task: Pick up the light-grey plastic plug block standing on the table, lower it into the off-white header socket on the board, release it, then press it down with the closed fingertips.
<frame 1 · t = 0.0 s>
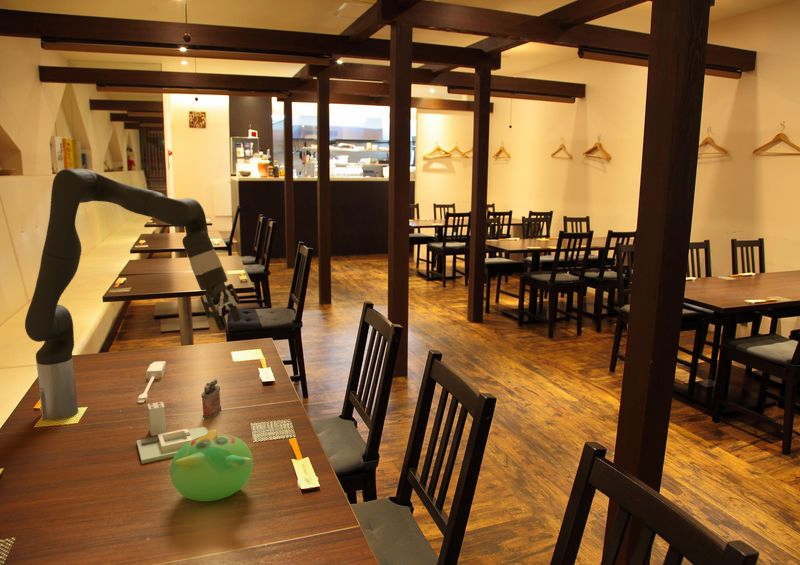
hand: (231, 325, 159), 31 cm above the table, tool tilted 20°, fingers open, 8 cm apart
toy bird: (214, 496, 134), on the table
charging cable: (151, 385, 199), on the table
board: (175, 445, 157), on the table
lighter: (212, 414, 177), on the table
plug: (158, 431, 165), on the table
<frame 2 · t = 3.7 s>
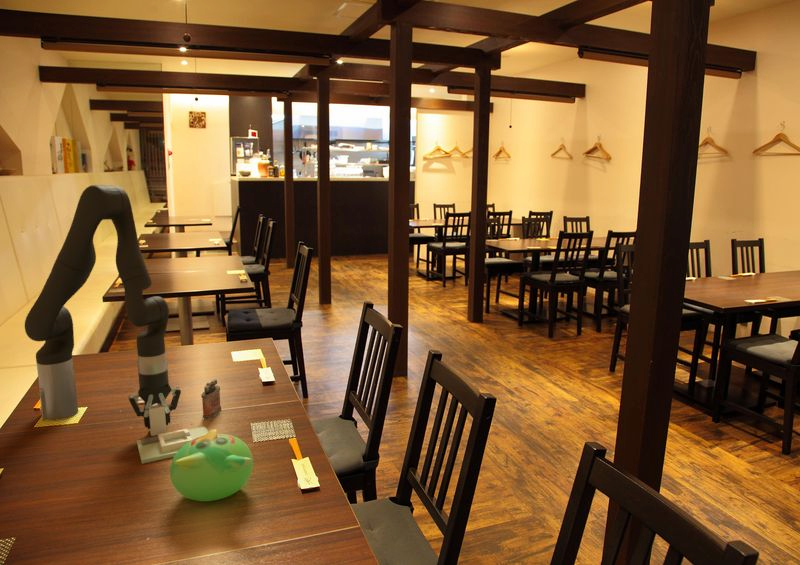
hand: (157, 425, 164), 2 cm above the table, tool pointing down, fingers closed on plug, 4 cm apart
plug: (158, 431, 165), on the table, touching gripper
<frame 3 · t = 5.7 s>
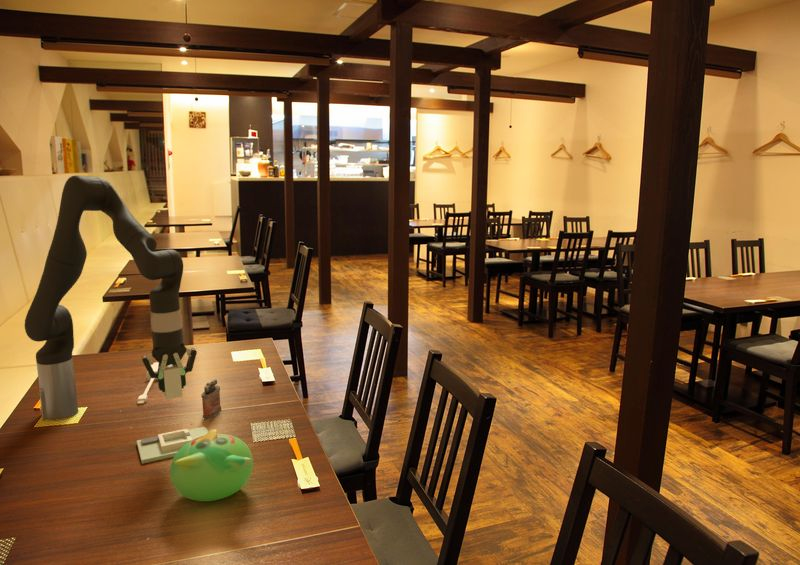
hand: (172, 389, 154), 16 cm above the table, tool pointing down, fingers closed on plug, 4 cm apart
plug: (173, 395, 155), point 14 cm above the table, touching gripper
when the fingers open (4 cm above the table, at t = 7.6 s): plug stays where it is, resting on board.
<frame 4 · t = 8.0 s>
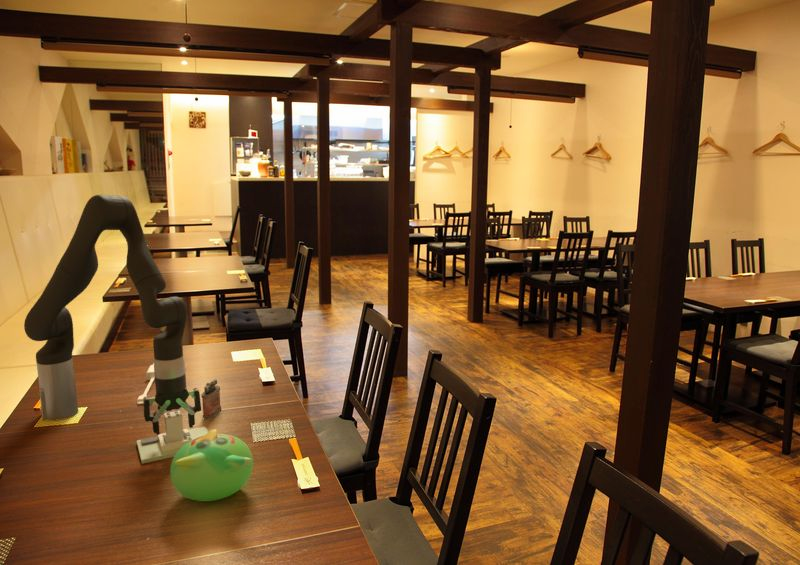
hand: (174, 430, 156), 5 cm above the table, tool pointing down, fingers open, 8 cm apart
plug: (175, 442, 157), point 1 cm above the table, touching board
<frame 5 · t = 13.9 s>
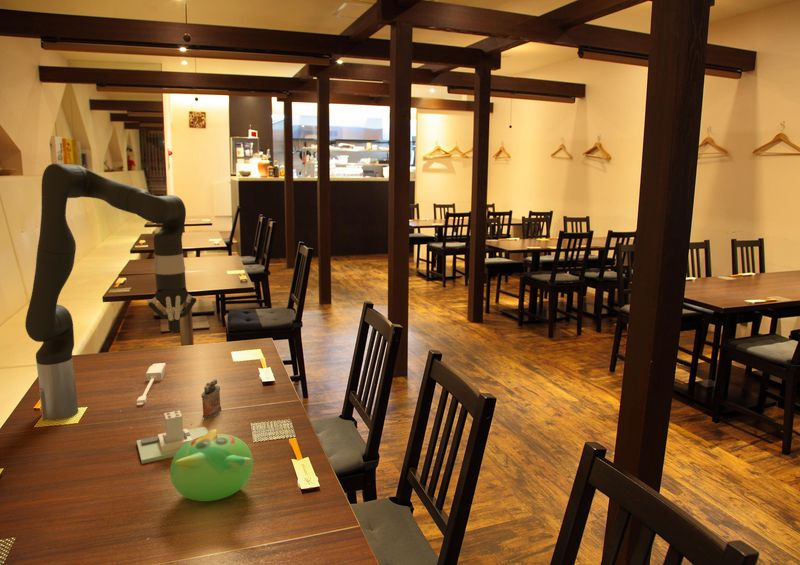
hand: (174, 332, 160), 29 cm above the table, tool pointing down, fingers closed
at the end: plug 0.1 cm off-centre on the board, point 1.0 cm above the board's base; plug tilted 0°; the gripper is holding nothing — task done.
